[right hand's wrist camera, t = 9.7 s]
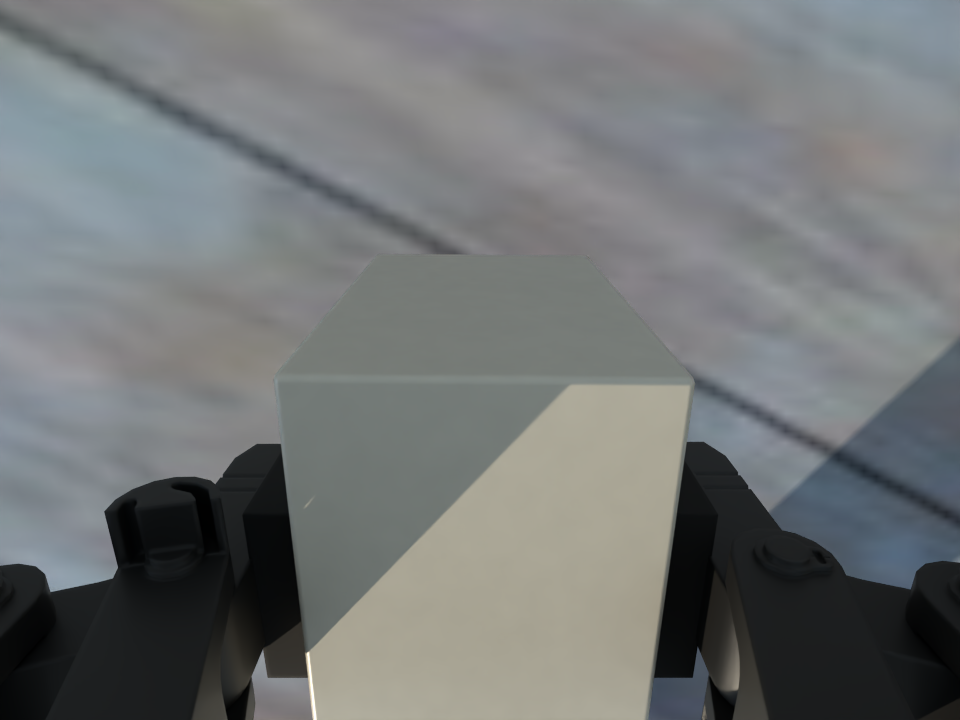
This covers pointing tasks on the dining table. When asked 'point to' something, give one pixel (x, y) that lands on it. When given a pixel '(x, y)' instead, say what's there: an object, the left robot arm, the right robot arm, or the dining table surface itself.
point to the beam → (482, 491)
